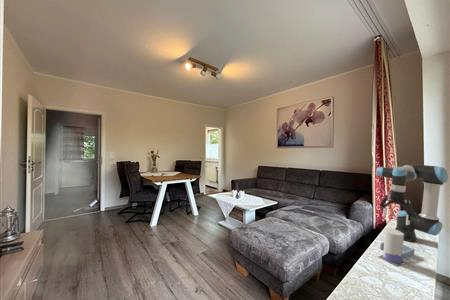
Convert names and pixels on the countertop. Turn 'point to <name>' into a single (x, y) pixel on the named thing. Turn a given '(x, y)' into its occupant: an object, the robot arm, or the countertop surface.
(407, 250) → the cradle
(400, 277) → the countertop surface
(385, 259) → the mat
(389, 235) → the container
